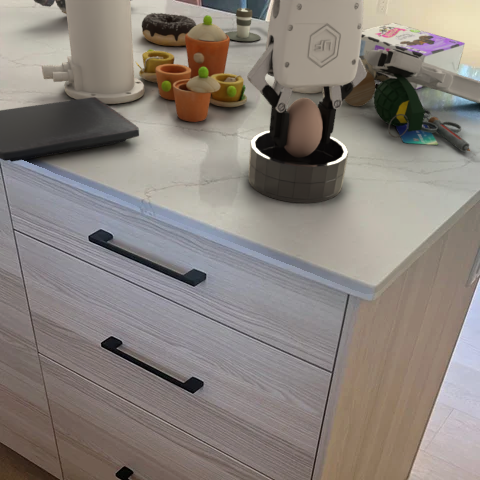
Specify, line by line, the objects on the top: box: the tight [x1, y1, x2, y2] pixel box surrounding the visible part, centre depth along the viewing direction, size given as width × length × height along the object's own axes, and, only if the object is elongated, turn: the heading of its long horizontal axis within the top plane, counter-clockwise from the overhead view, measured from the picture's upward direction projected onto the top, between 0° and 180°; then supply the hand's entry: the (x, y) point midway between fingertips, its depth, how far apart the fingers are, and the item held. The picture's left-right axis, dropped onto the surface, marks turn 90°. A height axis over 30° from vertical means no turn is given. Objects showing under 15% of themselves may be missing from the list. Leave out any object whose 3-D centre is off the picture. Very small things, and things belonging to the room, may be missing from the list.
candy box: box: [359, 22, 466, 90], centre depth 119 cm, size 14×6×16 cm
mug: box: [343, 56, 390, 107], centre depth 107 cm, size 8×6×12 cm
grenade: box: [373, 74, 426, 139], centre depth 97 cm, size 6×7×12 cm
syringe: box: [421, 108, 476, 156], centre depth 97 cm, size 8×18×2 cm, turn 18°
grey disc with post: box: [224, 7, 262, 43], centre depth 130 cm, size 12×12×5 cm
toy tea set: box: [135, 14, 248, 123], centre depth 100 cm, size 26×16×10 cm, turn 20°
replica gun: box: [364, 49, 480, 104], centre depth 102 cm, size 29×16×3 cm, turn 97°
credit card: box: [395, 123, 439, 146], centre depth 97 cm, size 8×5×1 cm, turn 0°
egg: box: [284, 97, 323, 158], centre depth 77 cm, size 5×5×7 cm
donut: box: [141, 12, 197, 47], centre depth 125 cm, size 11×12×4 cm
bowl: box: [247, 129, 349, 204], centre depth 80 cm, size 12×12×4 cm
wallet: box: [0, 97, 140, 163], centre depth 87 cm, size 20×2×15 cm
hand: (300, 139), depth 78 cm, fingers closed on egg, 5 cm apart
